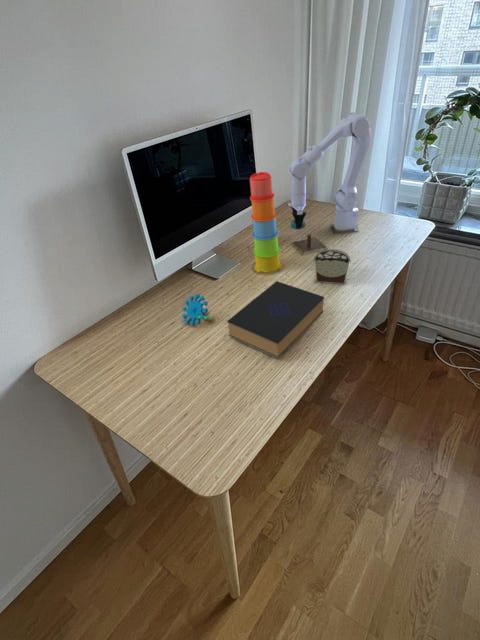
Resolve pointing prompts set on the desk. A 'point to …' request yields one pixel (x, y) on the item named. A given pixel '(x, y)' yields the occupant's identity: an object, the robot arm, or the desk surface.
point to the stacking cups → (264, 223)
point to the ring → (295, 225)
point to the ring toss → (309, 244)
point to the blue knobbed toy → (195, 310)
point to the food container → (331, 266)
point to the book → (276, 318)
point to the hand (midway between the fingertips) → (298, 224)
